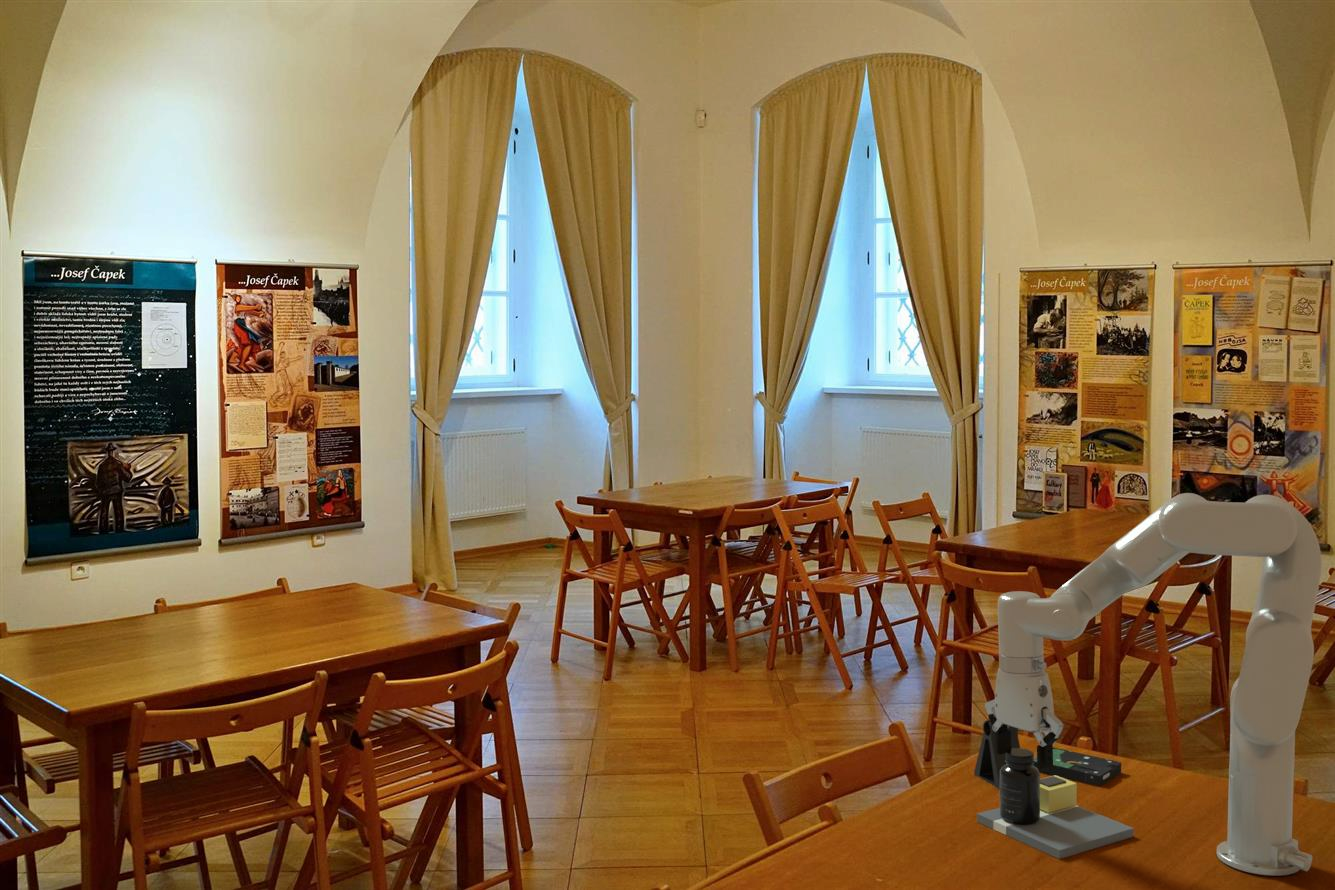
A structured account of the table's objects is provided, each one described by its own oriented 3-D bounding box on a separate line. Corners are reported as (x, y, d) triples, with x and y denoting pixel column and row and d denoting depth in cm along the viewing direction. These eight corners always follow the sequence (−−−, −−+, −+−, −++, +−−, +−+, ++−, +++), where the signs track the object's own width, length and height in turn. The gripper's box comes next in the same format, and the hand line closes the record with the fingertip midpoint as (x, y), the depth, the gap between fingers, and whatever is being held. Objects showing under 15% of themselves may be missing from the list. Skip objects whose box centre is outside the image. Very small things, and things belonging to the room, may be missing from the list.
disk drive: (1121, 775, 250) (1050, 758, 260) (1122, 761, 250) (1050, 745, 259) (1100, 789, 242) (1027, 772, 252) (1101, 775, 242) (1028, 758, 252)
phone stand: (1026, 785, 243) (1027, 724, 242) (999, 789, 241) (1000, 728, 240) (1000, 770, 252) (1001, 711, 251) (973, 774, 250) (974, 714, 249)
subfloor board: (1133, 836, 218) (1133, 828, 218) (1059, 859, 209) (1059, 850, 209) (1049, 802, 234) (1049, 794, 234) (977, 821, 225) (977, 813, 225)
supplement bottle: (1012, 808, 227) (1013, 743, 226) (1047, 818, 223) (1048, 751, 222) (991, 818, 223) (992, 752, 222) (1026, 829, 218) (1027, 761, 217)
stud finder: (1076, 804, 228) (1076, 781, 228) (1048, 812, 224) (1048, 788, 224) (1055, 796, 232) (1055, 773, 232) (1027, 803, 229) (1027, 780, 228)
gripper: (1075, 669, 215) (1077, 768, 216) (1001, 651, 230) (1003, 744, 231) (1043, 676, 211) (1046, 777, 212) (970, 657, 226) (973, 752, 227)
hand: (1024, 759), depth 221 cm, fingers open, 9 cm apart
